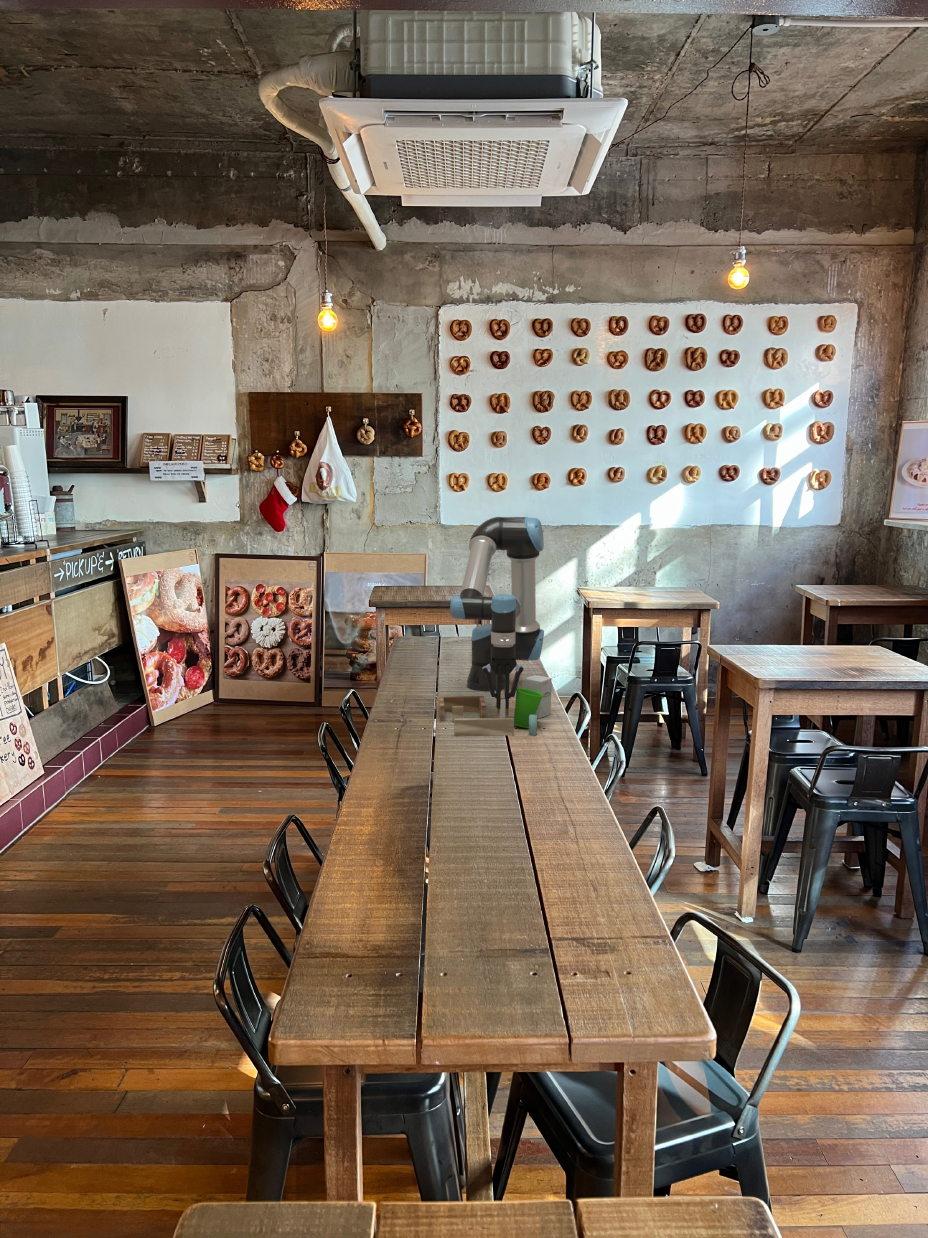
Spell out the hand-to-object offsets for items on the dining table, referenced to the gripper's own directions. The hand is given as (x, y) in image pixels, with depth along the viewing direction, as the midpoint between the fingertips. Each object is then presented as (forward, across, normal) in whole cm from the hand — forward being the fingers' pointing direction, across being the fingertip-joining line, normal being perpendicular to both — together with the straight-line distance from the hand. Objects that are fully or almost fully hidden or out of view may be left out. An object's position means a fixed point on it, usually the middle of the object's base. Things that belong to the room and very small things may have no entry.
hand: (502, 718), depth 273 cm
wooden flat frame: (+3, -8, +6) cm, 11 cm away
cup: (+3, +6, 0) cm, 7 cm away
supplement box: (+3, +13, +14) cm, 19 cm away
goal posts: (+3, +9, 0) cm, 9 cm away
